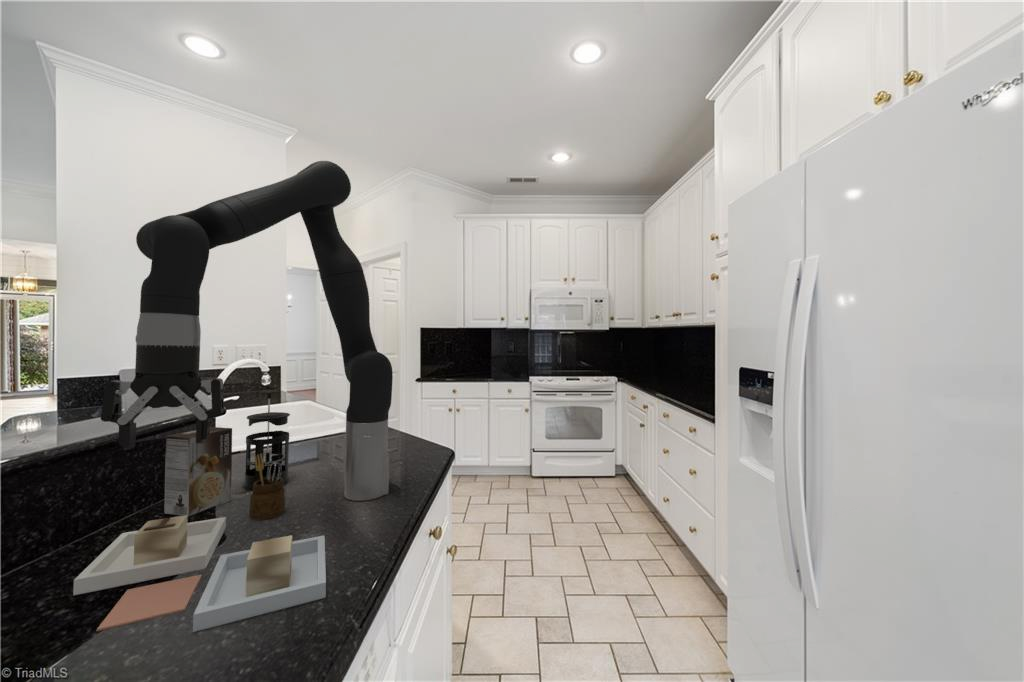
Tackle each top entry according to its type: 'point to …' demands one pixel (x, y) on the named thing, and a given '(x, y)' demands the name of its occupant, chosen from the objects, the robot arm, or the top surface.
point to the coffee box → (197, 471)
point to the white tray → (120, 568)
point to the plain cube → (269, 565)
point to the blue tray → (231, 604)
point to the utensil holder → (267, 495)
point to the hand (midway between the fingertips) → (165, 445)
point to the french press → (276, 442)
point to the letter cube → (160, 540)
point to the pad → (151, 602)
